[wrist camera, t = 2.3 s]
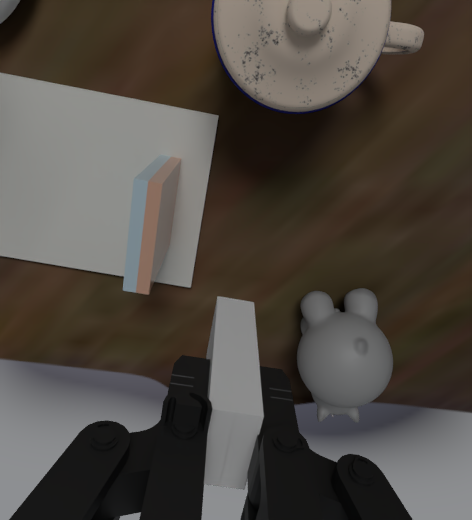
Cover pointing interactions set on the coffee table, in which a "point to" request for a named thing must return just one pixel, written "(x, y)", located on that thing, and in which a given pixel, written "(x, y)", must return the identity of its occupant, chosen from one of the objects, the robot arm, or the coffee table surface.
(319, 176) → the coffee table surface
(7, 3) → the flower in vase
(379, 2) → the teacup with lid
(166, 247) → the tile
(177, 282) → the mat
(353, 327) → the chubby cartoon animal
